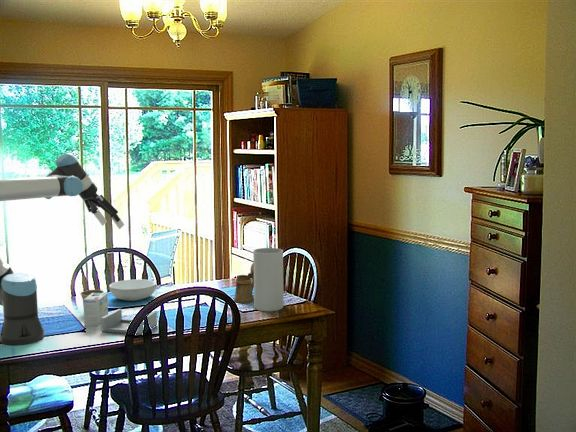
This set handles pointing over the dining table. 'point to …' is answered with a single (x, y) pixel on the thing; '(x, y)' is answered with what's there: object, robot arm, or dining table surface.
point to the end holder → (123, 323)
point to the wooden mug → (245, 287)
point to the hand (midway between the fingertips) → (113, 225)
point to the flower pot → (88, 292)
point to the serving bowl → (132, 289)
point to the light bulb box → (95, 308)
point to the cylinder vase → (268, 279)
